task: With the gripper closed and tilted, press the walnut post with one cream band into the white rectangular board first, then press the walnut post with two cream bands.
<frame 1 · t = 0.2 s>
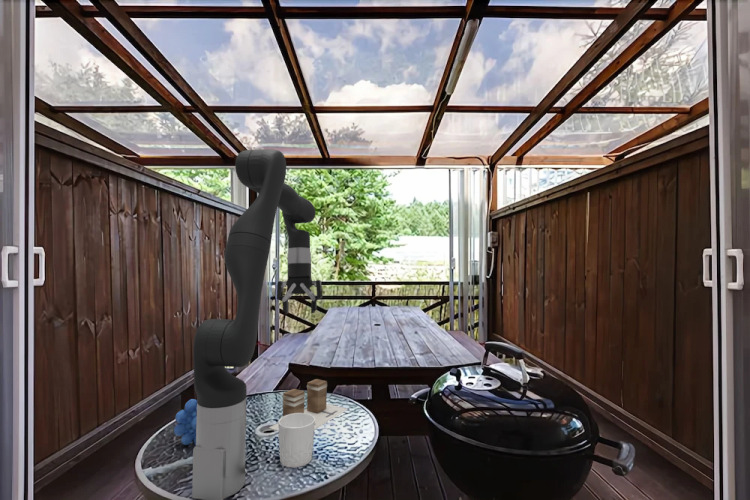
hand: (299, 313, 119), 29 cm above the table, tool pointing down, fingers open, 8 cm apart
white cup: (296, 466, 82), on the table
white rectangular board: (311, 423, 104), on the table
one band post: (316, 395, 109), point 6 cm above the table, slide at 0.0 cm
two band post: (293, 407, 100), point 6 cm above the table, slide at 0.0 cm
grapes: (200, 444, 92), on the table
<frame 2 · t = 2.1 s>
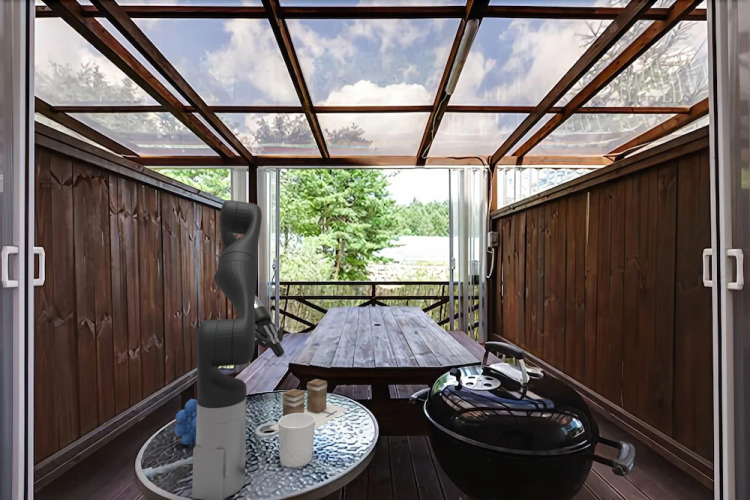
hand: (281, 355, 116), 16 cm above the table, tool tilted 45°, fingers closed
nothing on the table moved.
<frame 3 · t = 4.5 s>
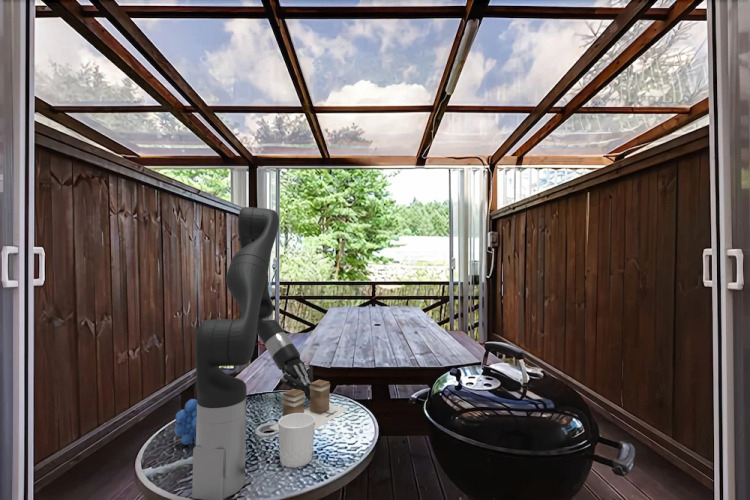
hand: (312, 397, 110), 5 cm above the table, tool tilted 45°, fingers closed
one band post: (319, 396, 109), point 6 cm above the table, slide at 1.1 cm, touching gripper
everything else where it was.
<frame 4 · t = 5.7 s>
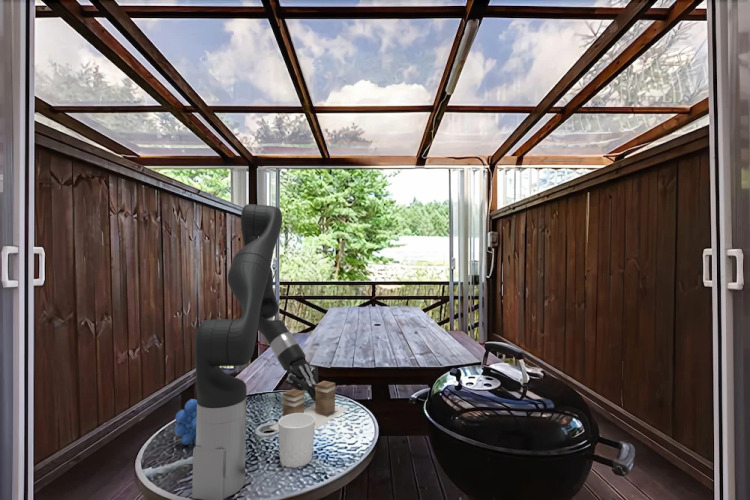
hand: (318, 398, 109), 5 cm above the table, tool tilted 45°, fingers closed
one band post: (325, 397, 108), point 6 cm above the table, slide at 3.1 cm, touching gripper
everything else where it was.
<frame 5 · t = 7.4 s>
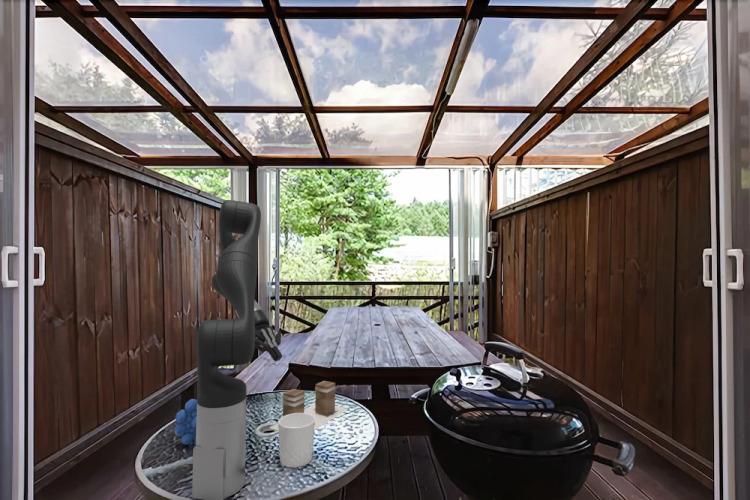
hand: (279, 359, 115), 15 cm above the table, tool tilted 45°, fingers closed
one band post: (325, 397, 108), point 6 cm above the table, slide at 3.1 cm
everything else where it was.
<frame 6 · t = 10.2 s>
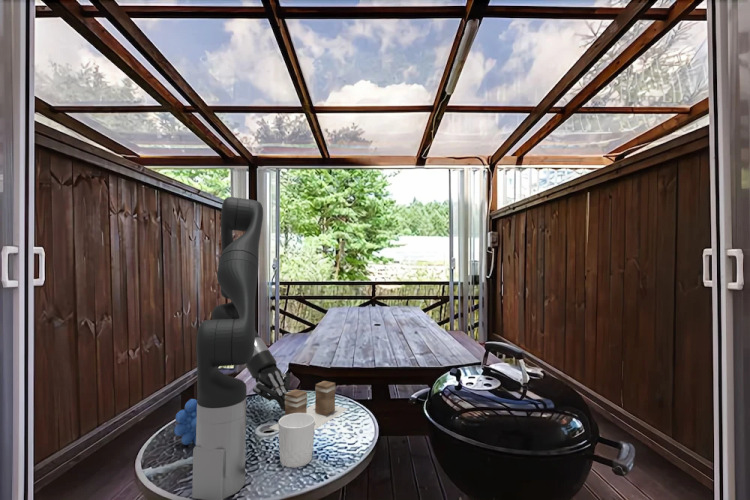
hand: (288, 408, 101), 5 cm above the table, tool tilted 45°, fingers closed
two band post: (295, 407, 100), point 6 cm above the table, slide at 0.8 cm, touching gripper
everything else where it was.
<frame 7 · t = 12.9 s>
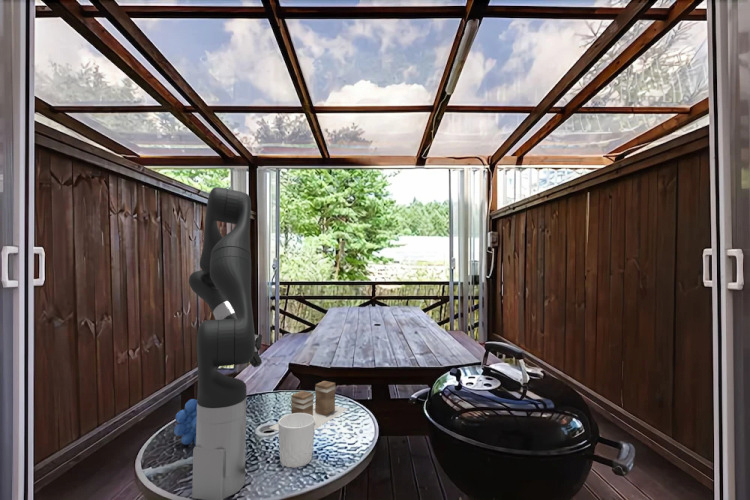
hand: (258, 365, 108), 15 cm above the table, tool tilted 45°, fingers closed
two band post: (302, 409, 99), point 6 cm above the table, slide at 3.1 cm
everything else where it was.
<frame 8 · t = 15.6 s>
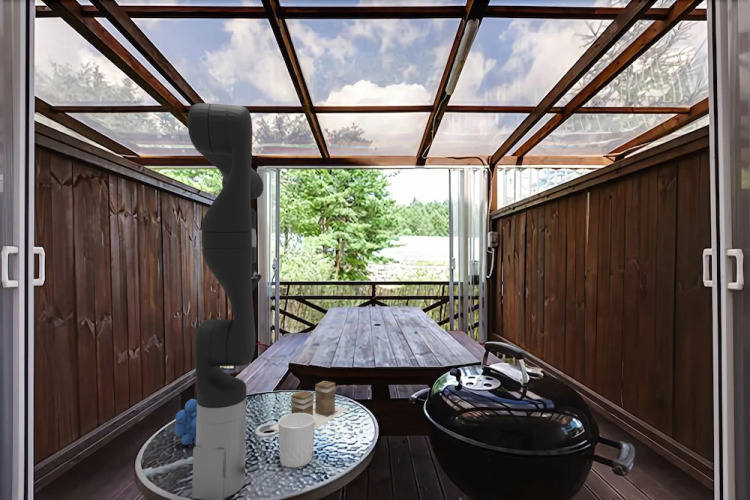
hand: (240, 309, 101), 32 cm above the table, tool pointing down, fingers closed
nothing on the table moved.
at the end: one band post slide at 3.1 cm; two band post slide at 3.1 cm; white cup moved 0.2 cm from its start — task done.
